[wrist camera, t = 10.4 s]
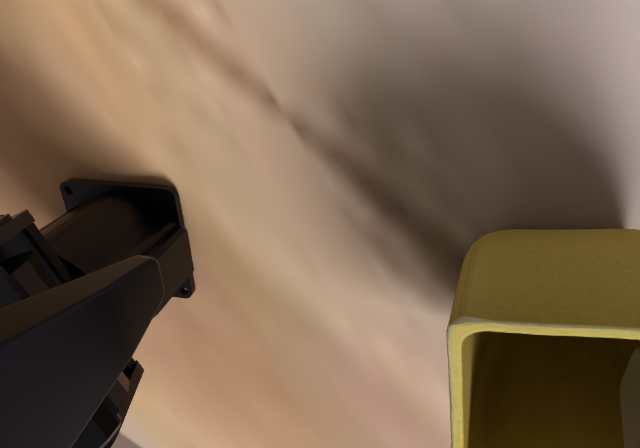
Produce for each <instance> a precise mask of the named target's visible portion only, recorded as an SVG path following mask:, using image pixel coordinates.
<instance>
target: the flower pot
mask: <svg viewBox="0 0 640 448" xmlns="http://www.w3.org/2000/svg"><path fill="white" fill-rule="evenodd" d="M639 347H640V230H633V229H617V228H616V229H507V230H499V231H494V232H491V233H488V234H485V235H484V236H482V237H480V238H479V239H478V240H477V241H475V242H474V243H473V244H472V246H471V247H470V249H469V250H468V252H467V254H466V256H465V259H464V261H463V264H462V268H461V272H460V277H459V281H458V285H457V289H456V293H455V297H454V302H453V306H452V311H451V315H450V320H449V324H448V328H447V353H448V369H449V392H450V418H451V448H624V437H623V427H622V416H621V405H620V384H621V380H622V378H623V375H624V373H625V371H626V368H627V366H628V364H629V361H630V359H631V357H632V355H633V352H634V351H635V350H636V349H637V348H639Z"/></svg>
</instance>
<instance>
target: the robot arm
mask: <svg viewBox="0 0 640 448" xmlns="http://www.w3.org/2000/svg"><path fill="white" fill-rule="evenodd" d="M70 187H71V188H72V189H73V191H72V190H71V188H70ZM60 189H61V193H62V196H63V199H64V203H65V206H66V210H67V212H66V213H64V214H63V215H61V216H60V217H58V218H57V219H55V220H54V221H52V222H51V223H49V224H48V225H46V226H45V227H43V228H41V229H40V230H38V228H37V227H36V225H35V224H34V223H33V222H34V221H35V220H34V218H33V217H32V216H31V214H30V213H29V212H28V210H24V211H22V212H20V213H18V214H16V215H14V216H10V215H9V214H6V215H4V214H3V215H0V448H110V447H111V446H112V444H113V443H114V441H115V439H116V437H117V435H118V433H119V431H120V428H121V426H122V424H123V421H124V419H125V416H126V414H127V411H128V409H129V406H130V404H131V401H132V399H133V396H134V394H135V392H136V389H137V387H138V384H139V382H140V379H141V377H142V374H143V372H144V369H143V368H142V366H141V365H140V364H139V362H138V361H134V359H133V358H132V355H133V354H134V352H135V350H136V348H137V346H138V345H139V343H140V341H141V339H142V337H143V335H144V333H145V332H146V330H147V328H148V326H149V324H150V322H151V320H152V319H153V318H154V317H155V316H156V315H157V314H158V313H159V312H160V311H161V310H162V308H163V307H164V306H165V305H166V304H167V302H168V301H169V300H170V299H171V298H172V297H179V298H189V297H191V295H192V294H193V293H194V291H195V283H194V277H193V271H194V267H193V261H192V256H191V250H190V244H189V239H188V233H187V230H186V228H185V227H184V221H183V215H182V210H181V204H180V198H179V194H178V192H177V191H176V189H175V188H173V187H171V186H167V185H153V184H140V183H126V182H113V181H99V180H86V179H72V178H71V179H68V180H66V181H64V182H63V183H61V186H60ZM165 194H168V195H169V196H170V198H171V200H170V199H168V198H167V197H166V195H165ZM183 287H185V288H186V289H187V290H185V289H184V288H183ZM620 405H621V416H622V427H623V437H624V448H640V347H639V348H637V349H636V350H635V351H634V352H633V355H632V357H631V359H630V361H629V364H628V366H627V368H626V371H625V373H624V375H623V378H622V380H621V384H620Z"/></svg>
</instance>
